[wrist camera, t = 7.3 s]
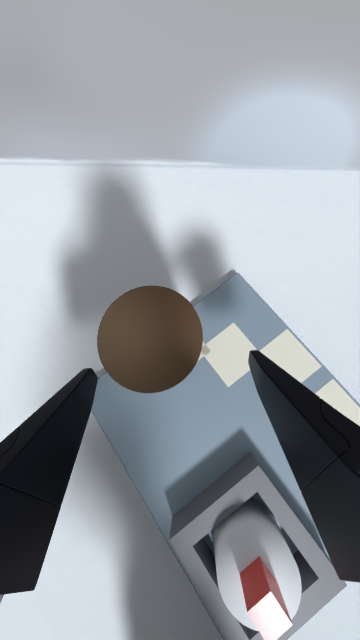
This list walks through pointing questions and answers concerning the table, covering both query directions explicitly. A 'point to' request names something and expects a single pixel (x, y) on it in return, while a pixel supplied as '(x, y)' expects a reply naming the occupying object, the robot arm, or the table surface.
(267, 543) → the dome button
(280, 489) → the board
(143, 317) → the brown wooden cylinder
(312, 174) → the table surface
